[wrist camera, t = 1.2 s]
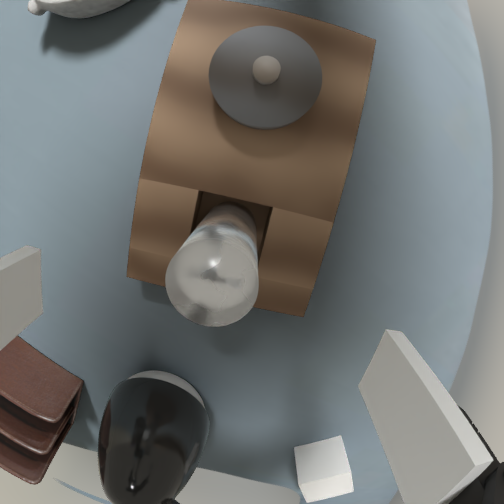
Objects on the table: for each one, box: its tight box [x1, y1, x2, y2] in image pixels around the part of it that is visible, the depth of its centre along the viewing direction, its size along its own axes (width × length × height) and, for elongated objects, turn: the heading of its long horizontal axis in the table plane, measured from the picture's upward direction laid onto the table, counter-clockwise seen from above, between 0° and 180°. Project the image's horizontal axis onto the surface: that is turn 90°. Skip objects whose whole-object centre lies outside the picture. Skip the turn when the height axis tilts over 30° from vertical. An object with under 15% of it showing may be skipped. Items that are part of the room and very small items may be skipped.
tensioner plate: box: [127, 0, 376, 317], centre depth 20 cm, size 22×14×6 cm, turn 167°
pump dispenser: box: [98, 371, 210, 504], centre depth 22 cm, size 10×10×15 cm
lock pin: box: [165, 201, 259, 327], centre depth 19 cm, size 4×4×12 cm
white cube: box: [294, 435, 354, 503], centre depth 30 cm, size 6×6×6 cm
